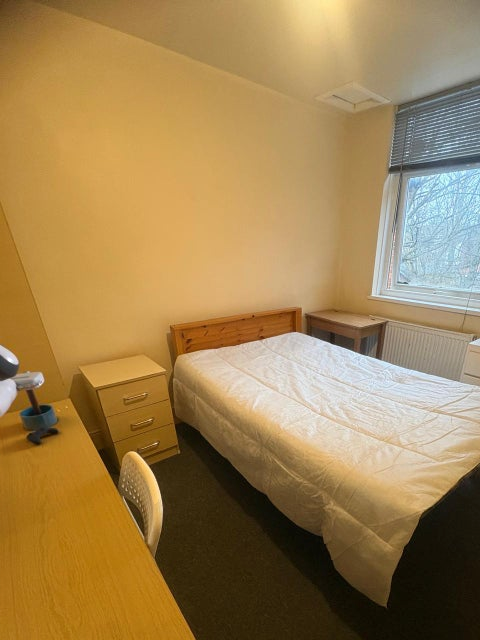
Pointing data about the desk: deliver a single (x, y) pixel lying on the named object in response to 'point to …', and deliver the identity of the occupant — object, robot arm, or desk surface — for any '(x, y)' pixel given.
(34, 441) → the gaming controller
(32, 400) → the brown post with base
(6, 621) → the desk surface
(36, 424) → the bowl
